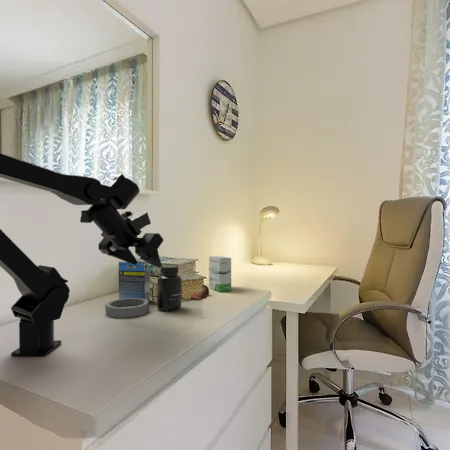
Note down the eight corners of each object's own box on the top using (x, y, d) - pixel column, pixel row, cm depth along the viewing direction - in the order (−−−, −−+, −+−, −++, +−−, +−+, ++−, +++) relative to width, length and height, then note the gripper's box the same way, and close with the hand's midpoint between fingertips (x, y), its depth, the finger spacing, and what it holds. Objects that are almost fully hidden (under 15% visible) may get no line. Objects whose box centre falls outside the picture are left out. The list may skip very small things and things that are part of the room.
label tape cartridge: (150, 301, 102) (150, 261, 102) (144, 304, 98) (144, 262, 98) (125, 299, 104) (124, 260, 104) (118, 302, 100) (117, 261, 100)
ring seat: (142, 317, 85) (142, 308, 85) (99, 317, 85) (99, 308, 84) (152, 306, 96) (152, 297, 96) (113, 306, 96) (113, 298, 96)
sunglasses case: (148, 296, 107) (153, 277, 110) (157, 303, 113) (161, 284, 116) (201, 300, 102) (204, 280, 105) (207, 307, 108) (210, 287, 111)
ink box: (232, 291, 116) (232, 257, 116) (219, 292, 113) (219, 258, 113) (219, 286, 123) (219, 254, 123) (208, 288, 121) (208, 255, 121)
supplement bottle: (177, 312, 89) (177, 268, 89) (153, 311, 90) (153, 267, 90) (184, 306, 96) (184, 264, 96) (162, 304, 97) (162, 264, 97)
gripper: (157, 198, 77) (189, 243, 86) (108, 201, 87) (141, 240, 97) (130, 233, 70) (167, 278, 79) (80, 231, 81) (118, 270, 90)
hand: (147, 264), depth 87 cm, fingers open, 9 cm apart
